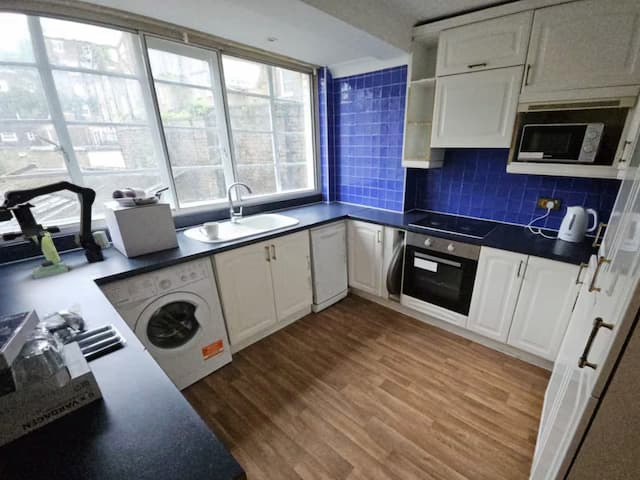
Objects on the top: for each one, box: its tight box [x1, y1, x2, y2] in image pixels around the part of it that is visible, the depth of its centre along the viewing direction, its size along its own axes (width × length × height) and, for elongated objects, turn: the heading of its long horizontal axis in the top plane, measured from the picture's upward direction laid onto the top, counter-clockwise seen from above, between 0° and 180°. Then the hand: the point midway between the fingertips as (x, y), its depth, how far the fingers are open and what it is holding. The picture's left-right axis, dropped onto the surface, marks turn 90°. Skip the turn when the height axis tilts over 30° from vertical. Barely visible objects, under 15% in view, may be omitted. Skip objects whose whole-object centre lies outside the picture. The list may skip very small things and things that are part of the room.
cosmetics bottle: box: [92, 230, 111, 250], centre depth 180 cm, size 5×4×10 cm
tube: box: [33, 225, 61, 263], centre depth 157 cm, size 6×5×20 cm
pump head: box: [40, 260, 54, 267], centre depth 146 cm, size 4×4×2 cm
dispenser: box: [32, 262, 69, 280], centre depth 147 cm, size 12×10×4 cm
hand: (40, 250), depth 143 cm, fingers closed
